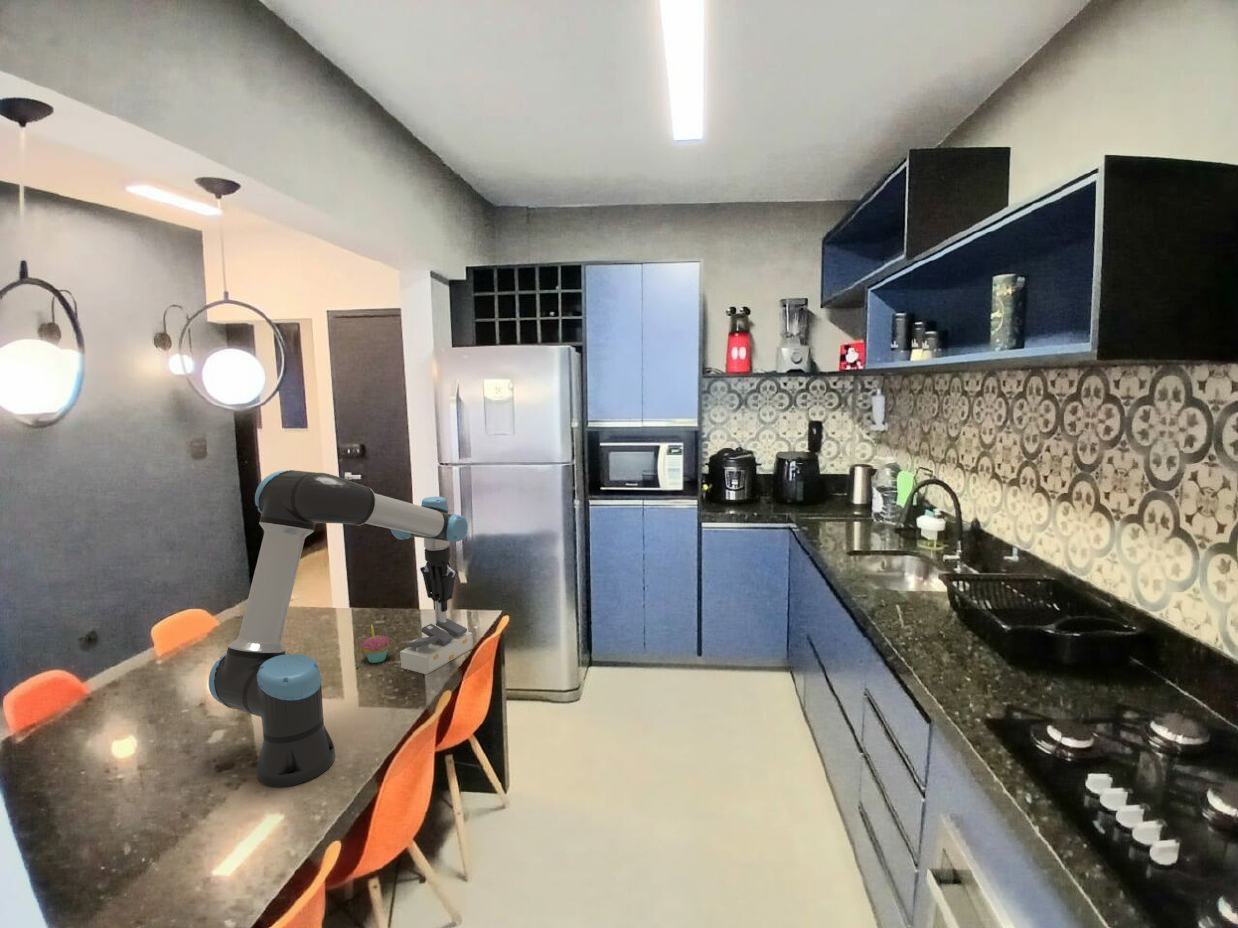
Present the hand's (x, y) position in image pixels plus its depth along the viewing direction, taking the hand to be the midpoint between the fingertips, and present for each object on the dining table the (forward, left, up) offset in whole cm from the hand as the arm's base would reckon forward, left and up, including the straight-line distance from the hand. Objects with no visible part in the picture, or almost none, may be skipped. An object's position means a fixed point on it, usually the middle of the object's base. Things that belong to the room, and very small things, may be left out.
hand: (441, 620), depth 197 cm
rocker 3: (0, -4, -1) cm, 4 cm away
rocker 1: (-12, -4, -1) cm, 13 cm away
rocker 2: (-6, -4, -1) cm, 8 cm away
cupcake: (-15, +12, -9) cm, 21 cm away
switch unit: (-6, -4, -9) cm, 12 cm away
